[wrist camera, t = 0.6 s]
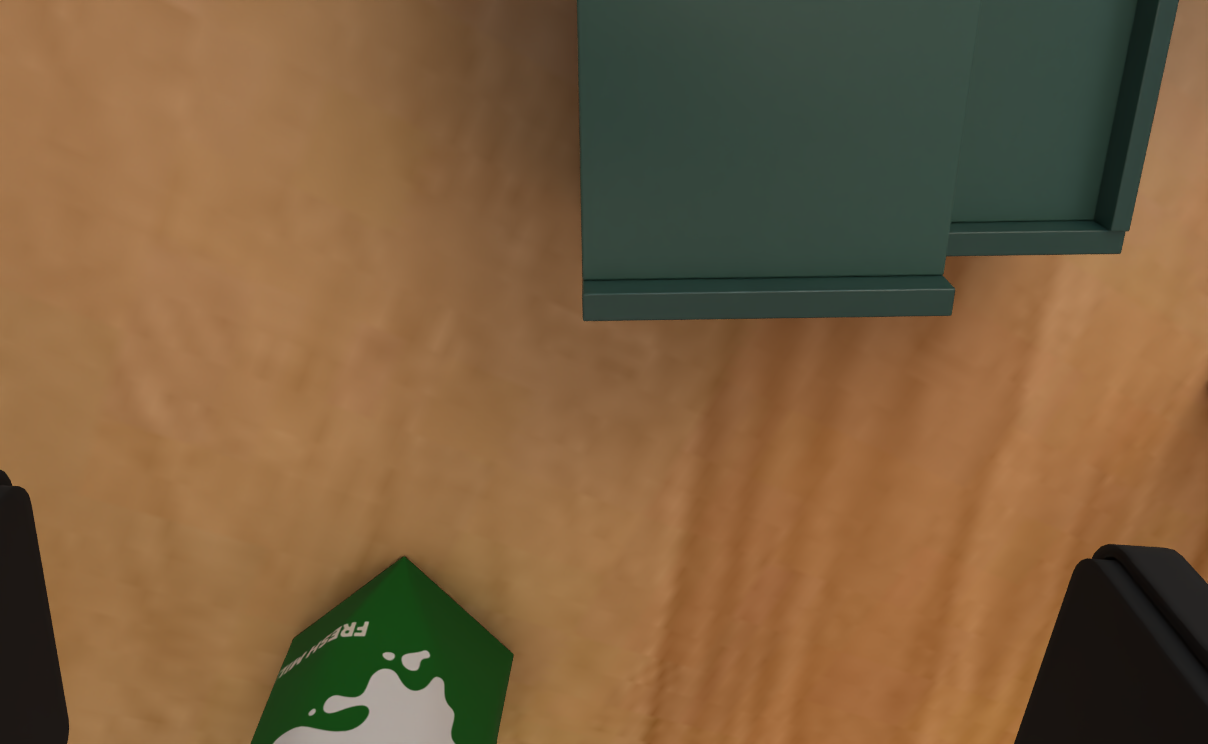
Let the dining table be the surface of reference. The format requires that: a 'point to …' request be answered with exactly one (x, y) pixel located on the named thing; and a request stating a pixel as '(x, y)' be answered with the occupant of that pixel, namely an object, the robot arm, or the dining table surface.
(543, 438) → the dining table surface
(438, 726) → the milk carton
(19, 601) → the robot arm
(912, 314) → the step rack
